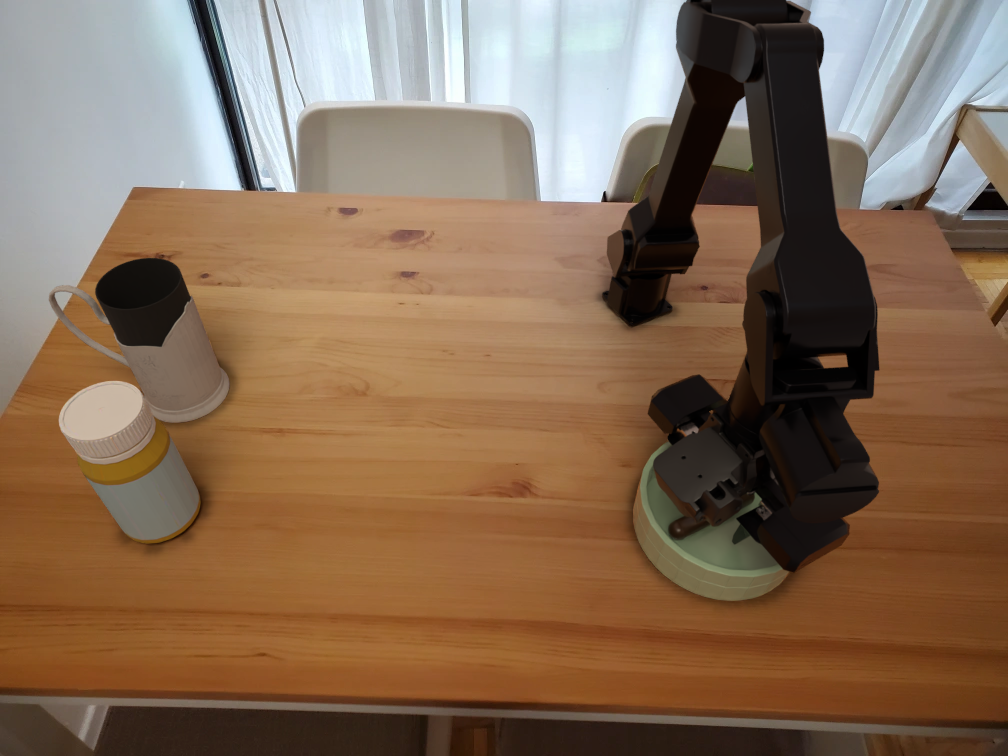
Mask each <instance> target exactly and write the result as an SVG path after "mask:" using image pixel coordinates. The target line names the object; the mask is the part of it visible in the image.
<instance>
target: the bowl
mask: <svg viewBox="0 0 1008 756" xmlns="http://www.w3.org/2000/svg"><path fill="white" fill-rule="evenodd" d="M671 446H672V445H671V444H670V443H669V441H668V440H667V441H665V442H664V443H663V444H662V445H660V446H659V447H658V448H657V449H656V450H655V451H654V452H652V453H651V455H650V456H649V458H648V460H647V461H646V463H645V465H644V467H643V469H642V472H641V475H640V478H639V482H638V485H637V489H636V493H635V497H634V502H633V507H632V522H633V528H634V533H635V536H636V539H637V542H638V543H639V545H640V547H641V550H642V551H643V553H644V554H645V555H646V557H647V559H648V560H649V561H650V563H652V565H653V566H654V567H655V568H656V569H657V570H658V571H659V572H660V573H661V574H662V575H663V576H664V577H665V578H667V579H669V580H670V581H671V582H672V583H674V584H676V585H678V586H679V587H681V588H682V589H684V590H686V591H688V592H690V593H692V594H695V595H698V596H701V597H703V598H707V599H713V600H717V601H726V602H733V601H735V602H736V601H738V602H739V601H746V600H751V599H755V598H759V597H762V596H763V595H766V594H768V593H770V592H772V591H773V590H774V589H776V588H777V587H779V586H780V585H781V584H782V582H784V581H785V580H786V579H787V577H788V575H789V574H790V573H791V572H790V571H786V570H783V569H782V568H781V566H780V565H779V564H778V563H777V562H776V561H775V560H774V558H773V557H772V556H771V555H770V554H769V553H768V551H767V550H766V549H765V548H764V547H763V546H762V545H761V544H759V543H757V542H756V541H755V540H754V539H753V538H752V537H751V536H750V537H748V538H746V539H745V540H743V541H741V542H739V543H737V544H735V545H734V544H733V543H732V538H733V535H734V533H735V531H736V530H737V528H738V527H739V525H740V523H739V522H738V521H737V520H736V518H737V517H739V516H741V515H743V514H745V513H747V512H749V511H751V510H752V509H754V508H756V507H758V504H759V502H760V500H762V499H761V498H760V497H759V496H758V495H757V494H756V492H755V499H754V501H753V503H751V504H750V505H748V506H746V507H744V508H742V509H741V510H740V511H739V512H738V513H736V514H735V515H733V516H732V517H731V518H729V519H728V520H726V521H725V522H723V523H722V524H720V525H719V526H716V527H712V526H711V525H710V526H708V527H706V528H704V529H702V530H700V531H698V532H696V533H694V534H693V535H691V536H689V537H687V538H685V539H683V540H674V539H673V538H671V537H670V535H669V533H668V527H669V525H670V524H671V523H672V522H673V521H675V520H677V519H679V518H681V517H683V516H684V515H683V514H682V513H681V512H680V511H679V510H678V509H677V507H676V506H675V504H674V503H673V502H672V501H671V500H670V498H669V497H668V496H667V495H666V493H665V492H664V491H663V490H662V489H661V488H660V487H659V485H658V483H657V479H656V475H655V471H654V467H653V462H654V459H655V458H656V457H657V456H658V455H659V454H661V453H662V452H664V451H665V450H667V449H668V448H670V447H671Z"/></svg>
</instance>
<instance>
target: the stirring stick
mask: <svg viewBox="0 0 1008 756" xmlns="http://www.w3.org/2000/svg"><path fill="white" fill-rule="evenodd" d="M740 497H741V498H742V499H743V507H742V508H744V507H746V506H748V505H750V504H751V503H753V501H754V499H755V493H754V494H752V495H747V494H744V495H742V496H740ZM710 525H711V524H710V523H709V522H708V521H706V520H703V521H701V522H699V523H696V522H695V520H694V519H693V518H690V517H686V516H683V517H681V518H679V519H677V520H675V521H673V522H672V523H671V524H670V525H669V527H668V533H669V535H670V537H671V538H673V539H674V540H683V539H685V538H687V537H689V536H691V535H693V534H694V533H696V532H698V531H700V530H702V529H704V528H706V527H708V526H710Z"/></svg>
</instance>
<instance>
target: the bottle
mask: <svg viewBox="0 0 1008 756" xmlns="http://www.w3.org/2000/svg"><path fill="white" fill-rule="evenodd" d="M141 391H142V390H140V389H139V388H138V387H136V386H135V385H133V384H131V383H129V382H126V381H121V380H109V381H108V380H107V381H101V382H97V383H94V384H91V385H88V386H87V387H84V388H83V389H81V390H79V391H78V392H76V393H75V394H74V395H72V396H71V397H70V398H69V399H68V400H67V401H66V402H65V404H64V405H63V407H61V410H60V413H59V416H58V425H59V429H60V431H61V433H62V434H63V436H64V438H65V439H66V441H67V442H68V443H69V445H70V446H71V448H73V450H74V451H75V453H76V461H77V463H76V464H77V466H78V467H79V469H80V471H81V473H82V474H83V476H84V478H86V480H87V481H88V483H89V485H90V486H91V487H92V489H93V491H94V492H95V493H96V495H97V496H98V497H99V499H100V500H101V502H102V503H103V505H104V506H105V507H106V509H107V510H108V512H109V513H110V515H111V516H112V518H113V519H114V520H115V522H116V523H117V525H118V526H119V528H120V529H121V530H122V532H123V533H124V534H125V535H126V536H127V537H128V538H129V539H131V540H133V541H134V542H136V543H137V542H138V543H141V544H158V543H159V544H160V543H162V542H165V541H169V540H171V539H174V538H175V537H177V536H179V535H180V534H182V533H183V532H185V531H186V530H187V529H188V528H189V527H190V526H191V525H192V524H193V523H194V521H195V519H196V518H197V516H198V515H199V512H200V508H201V503H202V501H201V496H200V491H199V489H198V488H197V485H196V484H195V481H194V479H193V477H192V476H191V474H190V472H189V470H188V467H187V465H186V464H185V462H184V460H183V458H182V455H181V454H180V452H179V450H178V448H177V446H176V444H175V442H174V440H173V438H172V436H171V434H170V433H169V431H168V429H167V428H166V425H165V424H164V423H163V421H161V420H159V419H157V418H156V417H154V416H153V414H152V412H151V410H150V408H149V406H148V404H147V402H146V400H145V398H144V393H143V392H141Z"/></svg>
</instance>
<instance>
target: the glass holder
mask: <svg viewBox="0 0 1008 756" xmlns="http://www.w3.org/2000/svg"><path fill="white" fill-rule="evenodd" d="M61 292H66V293H70V294H73V295H75V296H76V297H79V298H80V299H82V300H83V301H84V302H85V303H86V304H87V305H88V306H89V307H90V309H91V310H92V311H93V313H94V315H95V316H96V318H97V320H99V321H100V322H101V323H102V324H105V325H107V326H110V327H111V330H112V331H113V336H114V339H115V341H116V343H117V345H118V347H119V349H120V351H121V353H122V355H121V354H119V353H117V352H115V351H113V350H112V349H110V348H107V347H106V346H104V345H102V344H101V343H99V342H98V341H96V340H94V339H92V338H91V337H90V336H88V335H87V334H86V333H84V331H82V330H81V329H80V328H79V327H77V325H76V324H75V323H73V322H72V320H71V319H70V318H69V317H68V316H67V315H66V314H65V312H64V311H63V309H62V307H61V306H60V305H59V303H58V301H57V298H56V293H61ZM94 295H95V297H96V300H97V301H96V300H95V298H94V297H92V296H91V295H90V294H89V293H87V292H86V291H85V290H83V289H81V288H79V287H77V286H73V285H69V284H61V285H57V286H55V287H54V288H53V289H52V290H51V291H50V292H49V294H48V302H49V304H50V307H51V310H53V312H54V314H55V316H56V317H57V318H58V319H59V320H60V322H61V323H62V324H63V325H64V326H65V327H66V328H67V330H69V331H70V332H71V333H72V334H73V335H74V336H75V337H77V339H79V340H80V341H81V342H83V344H85V345H87V346H89V347H90V348H92V349H94V350H96V351H97V352H99V353H101V354H102V355H104V356H106V357H108V358H110V359H112V360H114V361H116V362H118V363H120V364H122V365H124V366H125V367H128V368H130V370H131V372H132V374H133V376H134V378H135V380H136V382H137V384H138V386H139V388H140V389H141V390H140V391H142V392H141V393H142V394H143V396H144V398H145V400H146V402H147V404H148V406H149V408H150V410H151V412H152V414H153V416H154V417H156V418H157V419H159V420H160V421H161V422H165V423H173V424H174V423H177V424H178V423H186V422H191V421H195V420H197V419H200V418H203V417H204V416H207V415H209V414H210V413H212V412H213V411H215V410H216V409H218V407H219V406H220V405H221V404H222V403H223V402H224V401H225V400H226V397H227V396H228V393H229V391H230V386H231V385H230V378H229V376H228V374H227V372H226V371H225V370H224V369H223V368H222V367H221V366H220V365H219V362H218V359H217V356H216V354H215V351H214V349H213V346H212V343H211V340H210V338H209V336H208V333H207V331H206V328H205V325H204V322H203V320H202V319H201V315H200V313H199V310H198V308H197V307H198V306H197V305H196V302H195V299H194V297H193V295H190V293H189V290H188V286H187V283H186V281H185V279H184V276H183V273H182V271H181V269H180V268H179V266H178V265H177V264H175V263H174V262H173V261H170V260H168V259H165V258H159V257H142V258H141V257H140V258H137V259H131V260H129V261H126V262H123V263H120V264H118V265H116V266H114V267H113V268H111V269H109V270H108V271H107V272H105V273H104V274H103V275H102V276H101V277H100V279H98V282H97V283H96V286H95V289H94ZM97 302H98V303H99V304H98V303H97ZM99 305H100V306H99Z"/></svg>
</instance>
